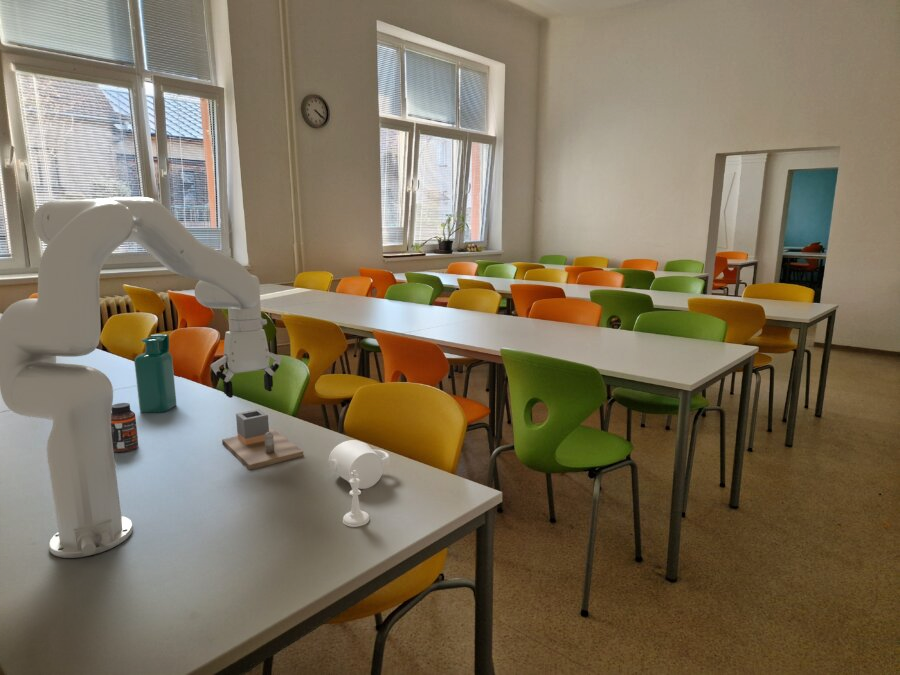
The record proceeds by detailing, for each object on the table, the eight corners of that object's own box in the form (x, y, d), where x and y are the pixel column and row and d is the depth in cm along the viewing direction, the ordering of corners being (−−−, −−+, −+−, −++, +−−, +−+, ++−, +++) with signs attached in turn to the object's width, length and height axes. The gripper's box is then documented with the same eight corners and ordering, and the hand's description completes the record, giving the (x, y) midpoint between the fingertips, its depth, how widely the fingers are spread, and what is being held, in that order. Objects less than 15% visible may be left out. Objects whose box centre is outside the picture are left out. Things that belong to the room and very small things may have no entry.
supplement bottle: (126, 454, 139) (121, 409, 137) (105, 452, 141) (100, 407, 138) (144, 444, 145) (139, 402, 143) (123, 443, 146) (118, 400, 144)
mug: (346, 494, 119) (345, 458, 117) (328, 478, 126) (327, 443, 125) (397, 480, 125) (396, 445, 124) (377, 465, 133) (377, 432, 131)
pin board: (303, 455, 138) (302, 431, 137) (249, 469, 130) (247, 444, 129) (272, 432, 154) (270, 410, 152) (222, 443, 146) (220, 420, 144)
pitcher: (165, 413, 170) (157, 340, 165) (137, 412, 170) (128, 340, 166) (181, 403, 179) (174, 333, 175) (154, 402, 179) (147, 333, 175)
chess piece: (357, 511, 111) (355, 462, 109) (374, 519, 108) (373, 469, 106) (337, 521, 108) (335, 471, 106) (354, 529, 105) (353, 478, 103)
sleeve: (261, 432, 150) (259, 409, 149) (269, 439, 145) (267, 415, 144) (237, 438, 146) (235, 413, 145) (245, 445, 142) (243, 419, 140)
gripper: (274, 320, 148) (277, 385, 151) (204, 326, 138) (208, 395, 141) (285, 324, 142) (288, 391, 145) (213, 330, 132) (217, 402, 135)
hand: (249, 393), depth 143 cm, fingers open, 9 cm apart
